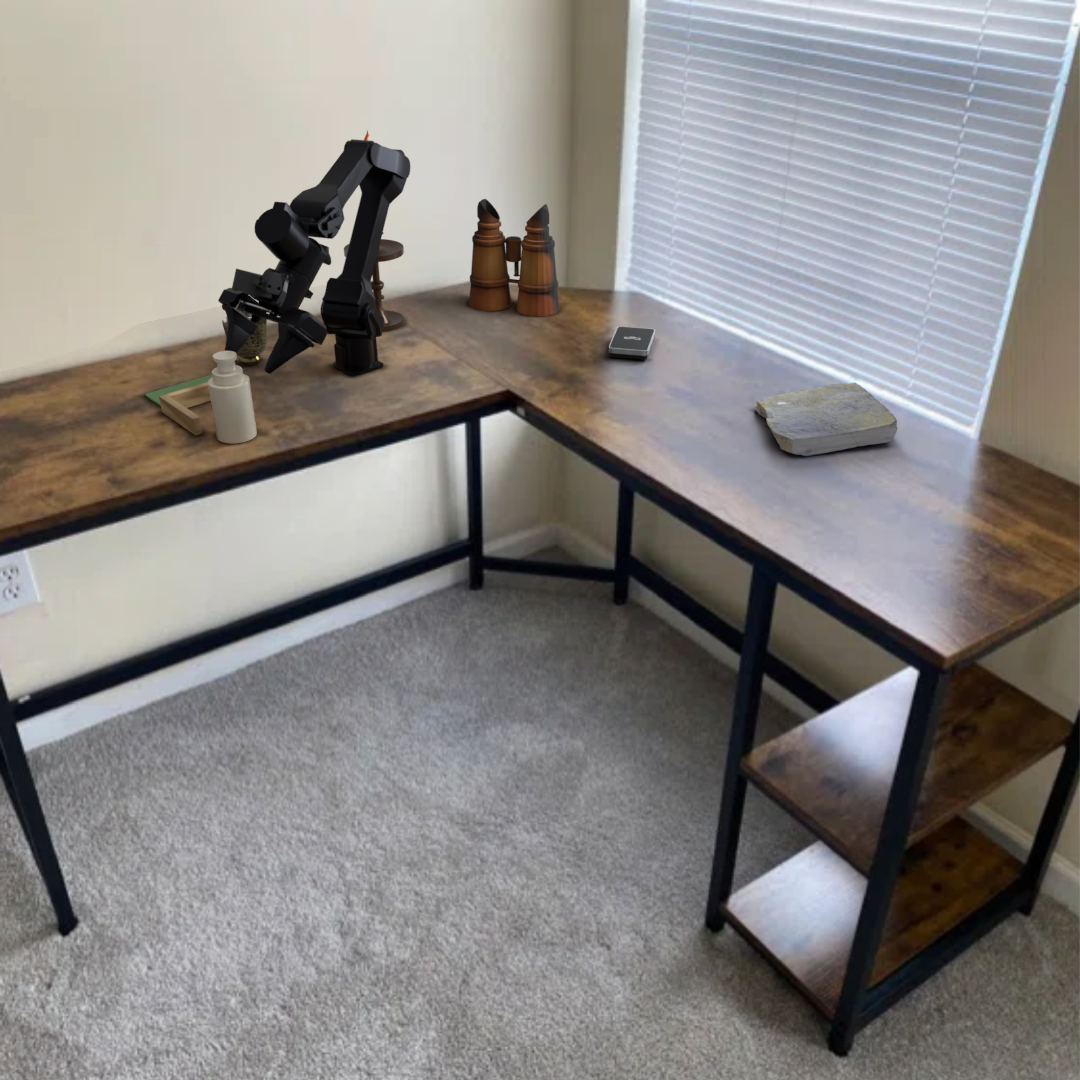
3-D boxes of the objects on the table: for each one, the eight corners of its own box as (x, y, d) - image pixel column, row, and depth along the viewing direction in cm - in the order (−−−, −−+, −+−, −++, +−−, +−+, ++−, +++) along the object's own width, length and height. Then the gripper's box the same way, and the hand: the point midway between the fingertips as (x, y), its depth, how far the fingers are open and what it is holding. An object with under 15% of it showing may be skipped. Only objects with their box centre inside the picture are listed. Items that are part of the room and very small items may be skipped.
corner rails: (234, 390, 185) (231, 374, 184) (269, 411, 178) (267, 395, 177) (161, 412, 178) (158, 396, 176) (195, 435, 171) (192, 419, 169)
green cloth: (211, 376, 190) (211, 374, 190) (229, 387, 186) (228, 385, 186) (144, 396, 183) (144, 394, 183) (161, 407, 179) (161, 405, 179)
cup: (261, 372, 191) (255, 328, 187) (221, 369, 193) (214, 324, 189) (278, 356, 198) (273, 313, 194) (239, 353, 199) (233, 310, 195)
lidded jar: (244, 423, 174) (232, 344, 168) (264, 435, 171) (253, 355, 164) (209, 434, 171) (196, 354, 164) (229, 447, 167) (216, 366, 160)
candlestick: (420, 322, 212) (408, 129, 194) (377, 337, 205) (361, 139, 187) (381, 309, 218) (367, 120, 200) (338, 324, 211) (319, 130, 193)
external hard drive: (654, 339, 205) (655, 328, 204) (647, 362, 196) (647, 351, 195) (617, 336, 206) (617, 325, 205) (607, 358, 197) (608, 348, 196)
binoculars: (462, 308, 219) (458, 204, 209) (477, 294, 226) (474, 193, 215) (552, 318, 214) (552, 213, 204) (565, 304, 221) (566, 201, 210)
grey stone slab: (736, 416, 179) (781, 458, 164) (739, 389, 176) (785, 429, 162) (851, 408, 183) (905, 448, 168) (855, 381, 181) (910, 419, 166)
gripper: (219, 234, 168) (169, 325, 166) (303, 258, 158) (252, 354, 156) (266, 273, 177) (220, 359, 175) (349, 297, 167) (301, 389, 166)
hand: (246, 365), depth 168 cm, fingers open, 9 cm apart
